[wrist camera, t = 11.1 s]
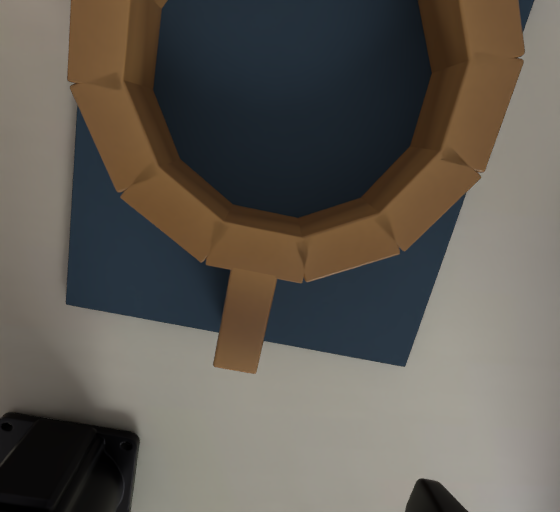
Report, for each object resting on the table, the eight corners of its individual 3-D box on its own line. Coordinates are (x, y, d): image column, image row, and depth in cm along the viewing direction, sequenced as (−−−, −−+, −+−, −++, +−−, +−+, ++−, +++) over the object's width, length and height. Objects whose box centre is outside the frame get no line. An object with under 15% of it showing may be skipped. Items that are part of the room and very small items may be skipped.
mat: (401, 361, 19) (405, 367, 18) (70, 299, 17) (65, 304, 17) (592, -184, 13) (604, -197, 12) (109, -328, 12) (102, -348, 11)
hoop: (383, 357, 18) (403, 401, 15) (91, 304, 17) (53, 339, 14) (527, -85, 13) (599, -144, 10) (129, -194, 12) (83, -293, 9)
